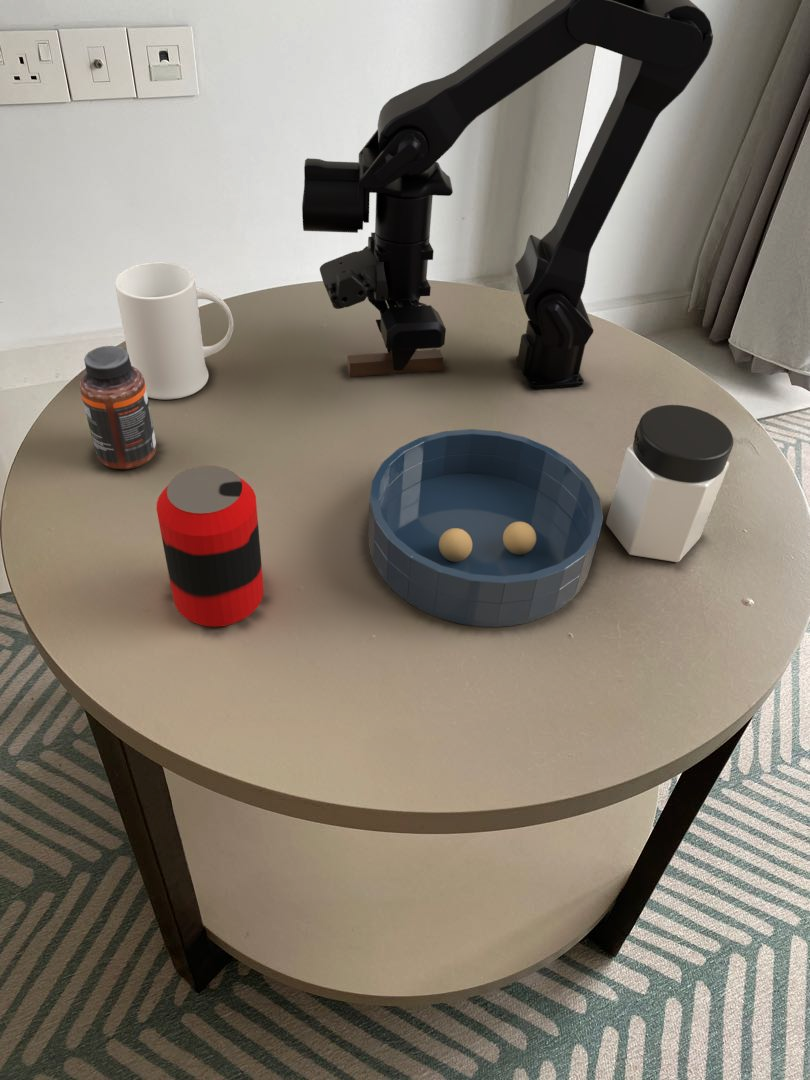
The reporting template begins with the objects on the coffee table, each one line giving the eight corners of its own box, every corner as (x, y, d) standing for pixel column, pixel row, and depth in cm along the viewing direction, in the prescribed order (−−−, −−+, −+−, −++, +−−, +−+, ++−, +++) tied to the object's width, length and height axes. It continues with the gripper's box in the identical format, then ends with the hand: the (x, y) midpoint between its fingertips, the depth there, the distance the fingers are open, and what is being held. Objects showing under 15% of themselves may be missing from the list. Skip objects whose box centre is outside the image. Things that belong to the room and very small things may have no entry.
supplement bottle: (168, 444, 89) (152, 347, 82) (137, 478, 85) (117, 380, 77) (117, 430, 91) (97, 334, 83) (84, 463, 86) (59, 365, 79)
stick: (438, 362, 103) (440, 349, 102) (442, 370, 102) (443, 357, 101) (347, 368, 101) (347, 355, 100) (349, 377, 100) (349, 363, 99)
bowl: (548, 465, 90) (557, 421, 86) (624, 611, 76) (639, 567, 72) (352, 482, 86) (352, 438, 83) (392, 641, 72) (395, 595, 68)
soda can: (262, 628, 72) (252, 521, 64) (169, 630, 71) (147, 522, 63) (265, 563, 78) (257, 457, 69) (179, 565, 77) (160, 458, 69)
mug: (240, 358, 102) (231, 261, 93) (235, 400, 96) (226, 300, 87) (136, 358, 101) (118, 259, 92) (125, 400, 94) (105, 299, 86)
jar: (637, 490, 88) (668, 390, 80) (711, 528, 84) (751, 428, 76) (591, 534, 83) (619, 433, 75) (667, 577, 79) (706, 474, 71)
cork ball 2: (527, 537, 81) (532, 513, 79) (537, 559, 79) (543, 535, 77) (496, 540, 81) (501, 516, 79) (506, 563, 79) (510, 539, 76)
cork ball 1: (465, 543, 80) (469, 519, 78) (474, 566, 78) (477, 542, 76) (434, 547, 80) (436, 523, 77) (441, 570, 77) (444, 546, 75)
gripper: (313, 198, 95) (315, 325, 106) (339, 278, 82) (338, 413, 93) (412, 195, 98) (405, 320, 108) (452, 272, 84) (439, 406, 95)
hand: (395, 362), depth 101 cm, fingers open, 3 cm apart
